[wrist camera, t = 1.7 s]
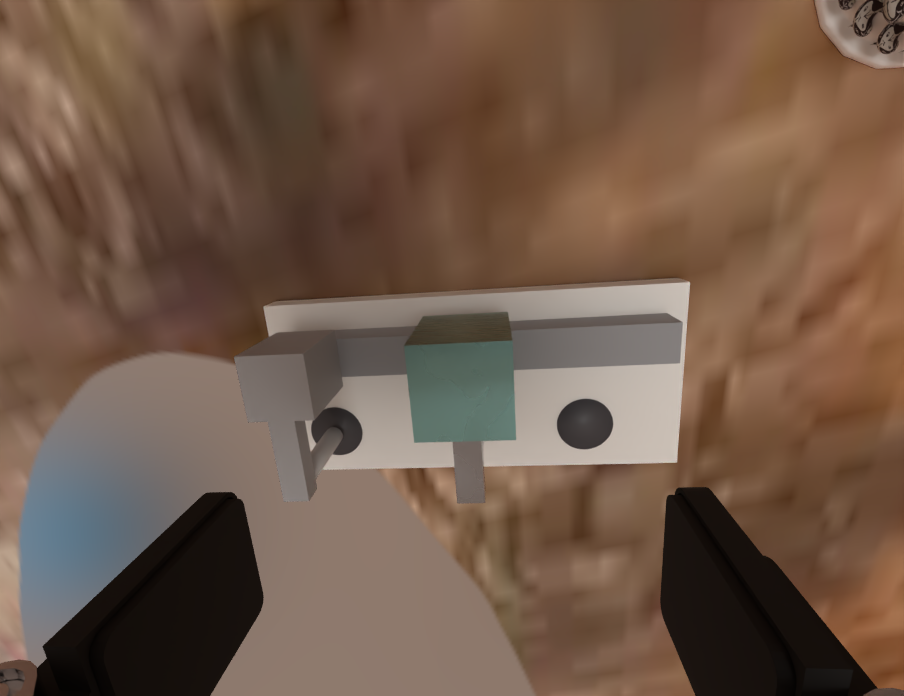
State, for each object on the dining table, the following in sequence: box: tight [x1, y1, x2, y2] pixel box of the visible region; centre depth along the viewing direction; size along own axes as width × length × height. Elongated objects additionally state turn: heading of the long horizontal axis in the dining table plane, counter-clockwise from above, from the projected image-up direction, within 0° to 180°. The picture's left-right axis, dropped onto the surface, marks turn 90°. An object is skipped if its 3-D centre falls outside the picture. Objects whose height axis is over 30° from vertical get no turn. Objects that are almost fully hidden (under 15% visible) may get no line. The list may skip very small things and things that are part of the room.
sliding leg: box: [404, 312, 516, 503], centre depth 21 cm, size 8×4×7 cm, turn 4°
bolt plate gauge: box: [234, 278, 690, 502], centre depth 23 cm, size 10×22×8 cm, turn 94°
